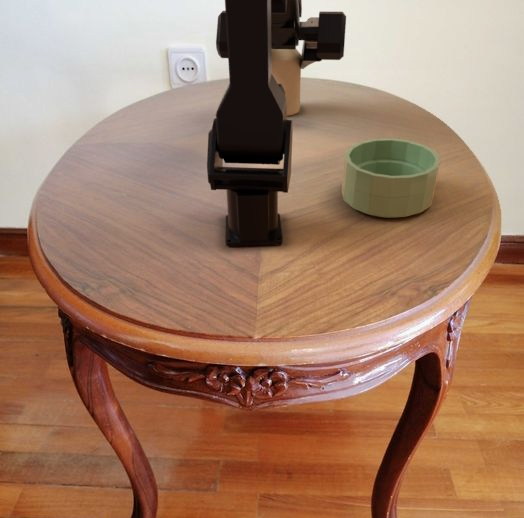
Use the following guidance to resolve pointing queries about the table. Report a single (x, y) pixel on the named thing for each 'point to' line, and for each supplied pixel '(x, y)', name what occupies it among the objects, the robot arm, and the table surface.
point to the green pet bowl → (389, 177)
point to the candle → (288, 75)
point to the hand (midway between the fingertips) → (284, 65)
